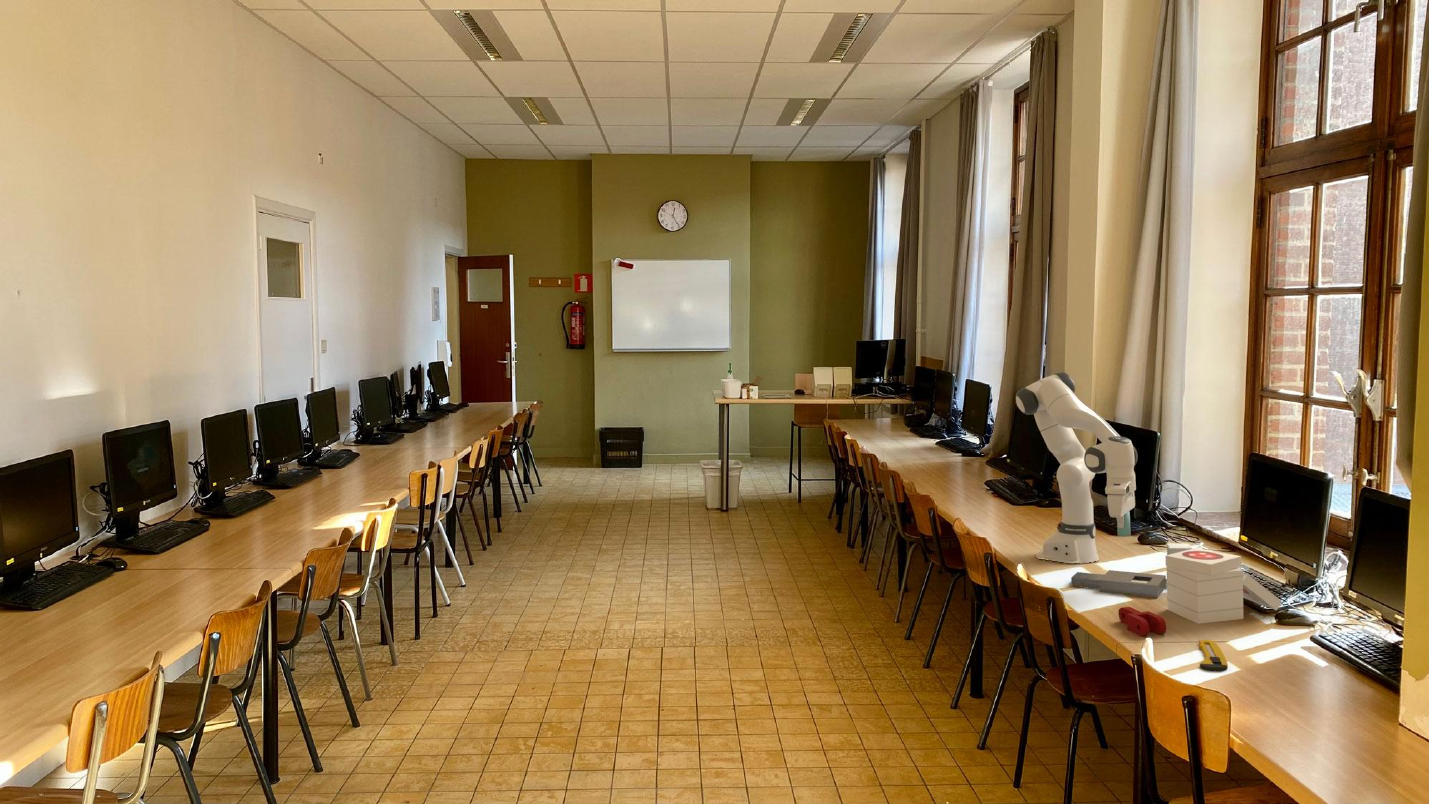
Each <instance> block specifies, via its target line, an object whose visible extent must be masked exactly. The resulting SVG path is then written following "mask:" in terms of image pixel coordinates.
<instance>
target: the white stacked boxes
mask: <svg viewBox="0 0 1429 804" xmlns="http://www.w3.org/2000/svg"><path fill="white" fill-rule="evenodd" d="M1165 566H1166V609H1167V611H1169V612H1171V613H1173V614H1176V615H1178V616H1181V617H1183V618H1185V619H1188V620H1190V621H1191V622H1194V623H1196V624H1199V625H1200V624H1208V623H1217V622H1225V621H1235V620H1243V619H1244V599H1245V600H1249V601H1252V602H1254V603H1256V604H1259V605H1262V606H1265V607H1267V608H1269V609H1273V610H1274V611H1278V609H1279V608H1280V606H1281V605H1282V603H1283V601H1282V600H1281V599H1279V598H1278V596H1276V595H1274V594H1273V593H1272V592H1271V591H1270V590H1268V588H1265V586H1263V585H1262V584H1261V583H1260V582H1258V581H1257V580H1255V579H1254V578H1253V576H1250V574H1247V573H1245V572H1243V571H1244V570H1243V569H1241V568H1242V555H1235V554H1232V553H1231V554H1230V553H1225V552H1220V551H1215V550H1214V551H1213V550H1209V549H1204V548H1198V547H1194V548H1193V549H1190V550H1186V551H1182V552H1178V553H1174V554H1170V555H1167V554H1166V555H1165Z"/></svg>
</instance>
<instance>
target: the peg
mask: <svg viewBox="0 0 1429 804" xmlns="http://www.w3.org/2000/svg"><path fill="white" fill-rule="evenodd" d="M1130 513H1131V512H1130V511H1129V512H1127V513H1126V514H1125V515H1124V522H1125V526H1124V527H1123V528H1119V527H1118V522H1117V521H1116V522H1117V523H1116V525H1117V526H1116V527H1117V530H1116V531H1117V536H1118V537H1131V534H1132V533H1131V515H1130Z"/></svg>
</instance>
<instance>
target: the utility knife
mask: <svg viewBox="0 0 1429 804" xmlns="http://www.w3.org/2000/svg"><path fill="white" fill-rule="evenodd" d="M1198 645H1199V650H1201V651H1202V653H1203V654H1204V655H1203V656H1204V659H1203V660H1202V661H1200V662H1199V668H1200V669H1201V670H1204V671H1207V672H1224V671H1226V670H1228V665H1229V664H1228V661H1227V659H1226V657H1225V654H1224V653H1223V651H1222V649H1221V648H1220V646H1219V645H1218V644H1217V642H1216V641H1215V640H1214V641H1213V640H1211V639H1210V640H1209V639H1200V640H1198Z"/></svg>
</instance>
